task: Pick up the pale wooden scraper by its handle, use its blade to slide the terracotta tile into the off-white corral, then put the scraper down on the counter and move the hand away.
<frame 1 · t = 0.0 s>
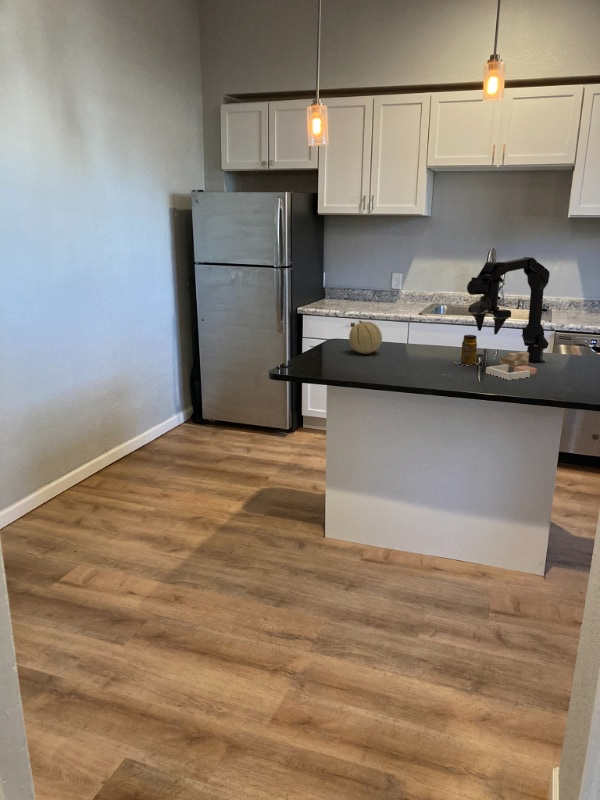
hand: (487, 332, 248), 15 cm above the table, tool pointing down, fingers open, 9 cm apart
tile: (524, 373, 243), on the table
condiment: (466, 364, 259), on the table
corral: (507, 375, 240), on the table
cantaloupe: (364, 353, 278), on the table
scraper: (516, 364, 257), on the table
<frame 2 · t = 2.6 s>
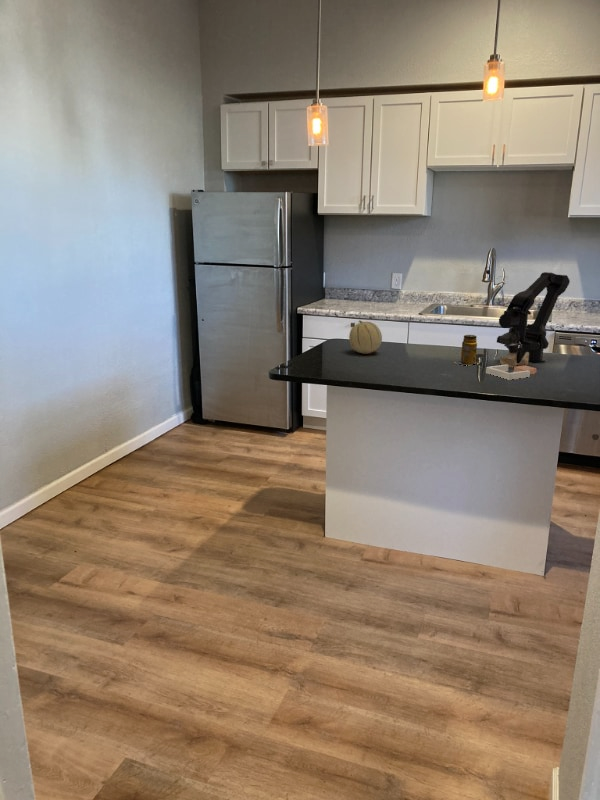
hand: (515, 362, 256), 1 cm above the table, tool pointing down, fingers closed on scraper, 2 cm apart
scraper: (517, 364, 257), on the table, touching gripper
everything else where it was.
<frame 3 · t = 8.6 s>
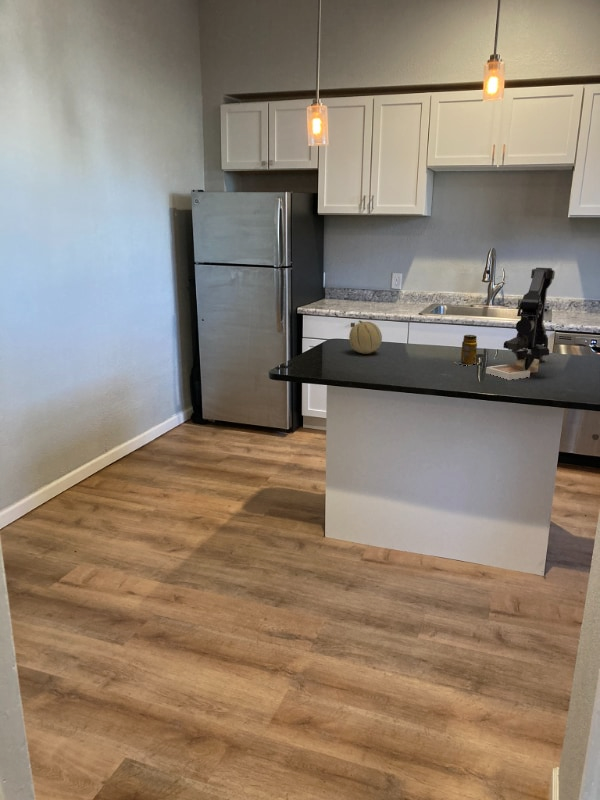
hand: (523, 369, 243), 2 cm above the table, tool pointing down, fingers closed on scraper, 2 cm apart
tile: (508, 375, 240), on the table
scraper: (526, 372, 244), on the table, touching gripper
everything else where it was.
when the fingers open (2 cm above the table, at t = 10.2 s): scraper stays where it is, on the table.
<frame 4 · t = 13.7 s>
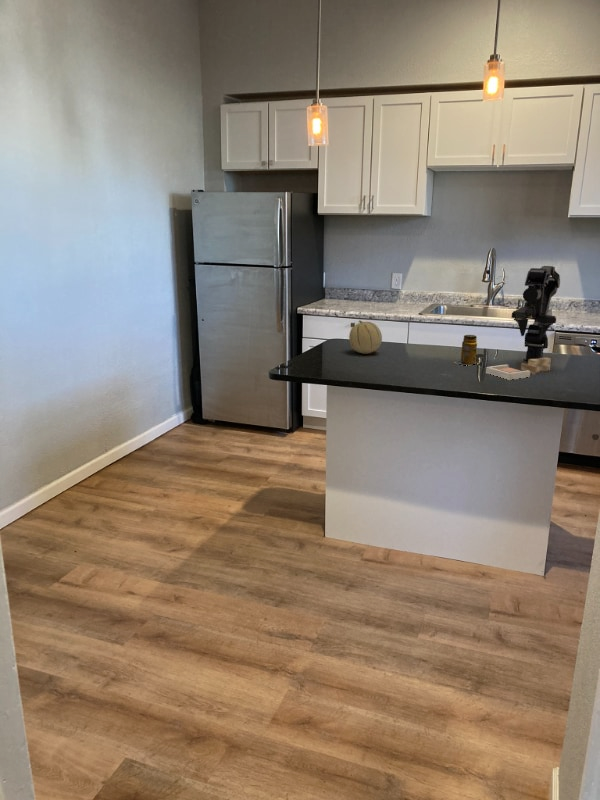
hand: (530, 337, 251), 12 cm above the table, tool pointing down, fingers open, 9 cm apart
scraper: (538, 371, 247), on the table
everything else where it was.
at the end: tile 0.5 cm off-centre on the corral, point 0.0 cm above the corral's base; the gripper is holding nothing; scraper touching table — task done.
